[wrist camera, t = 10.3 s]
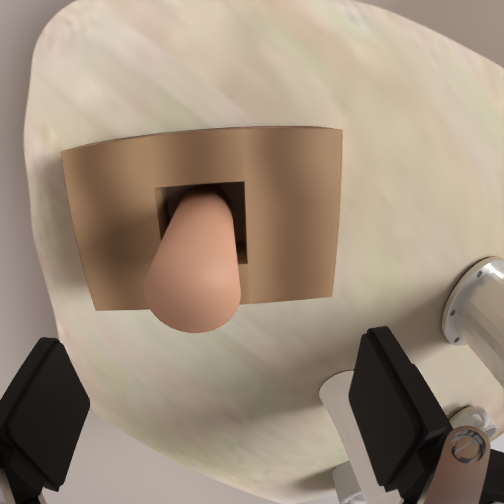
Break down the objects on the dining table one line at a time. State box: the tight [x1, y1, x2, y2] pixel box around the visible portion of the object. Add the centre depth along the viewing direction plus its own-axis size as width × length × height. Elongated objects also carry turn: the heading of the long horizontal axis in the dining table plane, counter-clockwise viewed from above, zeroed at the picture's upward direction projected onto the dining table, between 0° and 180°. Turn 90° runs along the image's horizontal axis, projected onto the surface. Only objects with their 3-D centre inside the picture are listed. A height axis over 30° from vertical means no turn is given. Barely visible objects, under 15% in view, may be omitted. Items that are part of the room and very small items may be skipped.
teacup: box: [449, 406, 498, 440], centre depth 41 cm, size 14×11×8 cm
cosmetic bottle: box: [319, 371, 401, 504], centre depth 25 cm, size 6×6×22 cm
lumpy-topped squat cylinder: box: [332, 461, 367, 504], centre depth 43 cm, size 10×13×9 cm
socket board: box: [61, 126, 342, 311], centre depth 22 cm, size 18×12×5 cm, turn 92°
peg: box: [144, 184, 241, 333], centre depth 18 cm, size 4×4×12 cm
